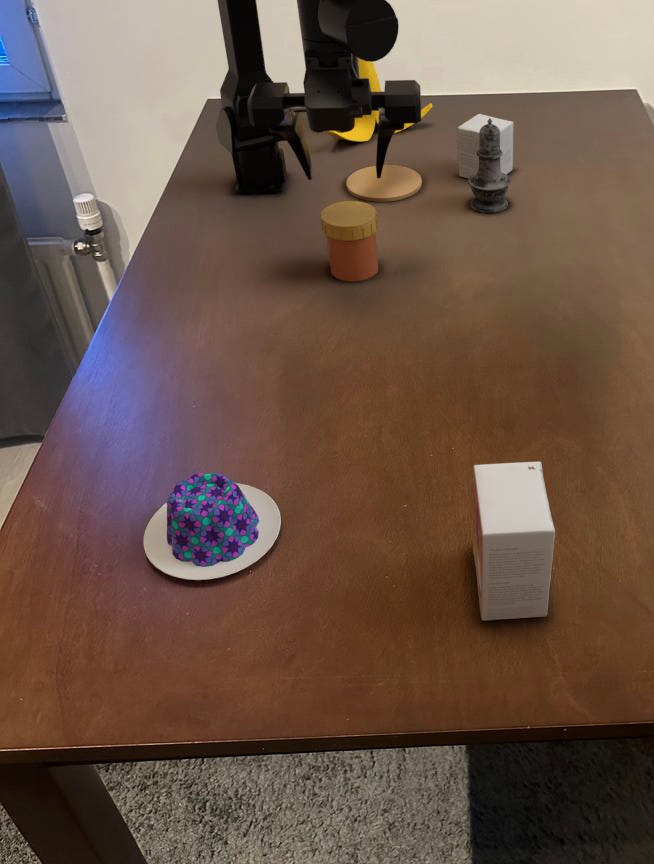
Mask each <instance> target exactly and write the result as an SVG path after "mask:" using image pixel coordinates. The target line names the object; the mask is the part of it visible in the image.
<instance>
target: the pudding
mask: <svg viewBox="0 0 654 864" xmlns="http://www.w3.org/2000/svg"><path fill="white" fill-rule="evenodd" d="M281 523H282V518H281V511H280V509H279V507H278V504H277V503H276V502H275V501H274V500H273V498H272V497H271V496H270V495H268V494H267V493H266V492H265V491H263V490H261V489H258V488H257V487H254V486H252V485H248V484H243V483H238V482H235V481H234V480H232V479H229V478H228V476H227V475H225V474H223V473H221V472H211V473H206V472H198V473H194V474H193V475H191V476H190V477H189V478H185V479H181V480H180V481H179V482H177V483H176V484H175V486H174V487H173V491H172V492H171V493H169V496H168V499H167V501H166V503H164V504H163V505H161V507H160V508H159V509H157V511H155V512H154V514H153V515H152V516H151V518H150V519H149V521H148V523H147V525H146V528H145V530H144V534H143V549H144V553H145V555H146V557H147V559H148V560H149V562H150V563H151V564H152V565H153V566H154V567H155V568H156V569H158V570H159V571H161V572H163V573H164V574H166V575H169V576H171V577H174V578H178V579H182V580H190V581H191V580H194V581H202V580H212V579H219V578H224V577H226V576H230V575H232V574H235V573H238V572H239V571H242V570H244V569H246V568H248V567H250V566H251V565H253V564H254V563H256V562H257V561H259V560H260V559H261V558H262V557H264V555H266V553H267V552H268V551H269V550H270V549H271V548H272V546H273V545H274V543H275V542H276V540H277V538H278V536H279V533H280V530H281Z"/></svg>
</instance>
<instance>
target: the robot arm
mask: <svg viewBox="0 0 654 864" xmlns="http://www.w3.org/2000/svg"><path fill="white" fill-rule="evenodd" d="M257 3H258V2H257V0H217V7H218V11H219V17H220V24H221V30H222V31H221V32H222V36H223V43H224V48H225V55H226V60H227V72H226V74H225V76H224V79H223V82H222V83H221V86H220V89H219V94H220V103H221V108H220V109H219V113H218V116H217V121H216V123H215V131H216V135H217V138H218V141H219V144H220V145H221V146H223V147H224V148H225V149H226V150H227V151H228V152H229V153H230V154H231V158H232V163H233V168H234V169H233V170H234V174H235V177H236V186H235V193H236V194H279V193H281V192H282V190H283V186H284V184H285V183H286V181H287V177H288V171H287V165H286V158H285V153H284V149H283V148H282V147H279V143H280V142H287V144H288V145H289V146H290V148H291V149H292V151H293V153H294V155H295V157H296V159H297V160H298V163H299V164H300V167H301V168H302V170H303V172H304V175H305V176H306V178H307V180H308V181H312V179H313V168H312V160H311V155H310V150H309V145H308V141H307V137H306V131H305V126H304V120H303V117H302V113H306V117H307V123H308V127H309V130H310V131H311V132H314V133H324V132H329V131H336V132H340V133H344V132H348V131H351V130H352V129H353V128H354V127H355V118H359V117H360V118H363V115H371V114H372V111H379V120H378V123H377V136H376V137H377V139H376V156H375V157H376V159H375V166H376V173H377V178H381V174H382V169H383V165H385V161H386V157H387V152H388V148H389V145H390V143H391V141H392V138H393V136H394V134H395V133H394V132H395V131H396V130H401V131H403V130H402V129H404V127H405V124H406V123H414V124H419V123H420V122H422V118H421V109H422V92H421V84H420V83H418V81H417V80H416V79H396V80H395V79H394V80H392V79H390V80H384V89H383V91H381V92H371V87H370V82H369V79H368V78H360V72H359V61H358V58H360V59H362V60H364V61H370V62H373V63H374V62H377V61H380V60H382V59H384V58H385V57H386V56H387V55H389V54H390V53H391V51H392V49H393V48H394V47H395V44H396V42H397V39H398V35H399V18H398V17H397V14H396V11H395V9H394V8H393V6H392V5H391V4H390V2H388V0H296V5H297V13H298V20H299V28H300V35H301V43H302V51H303V58H304V66H305V72H304V76H303V85H302V86H303V90H304V91H303V92H290V87H289V84H288V82H285V81H284V82H283V81H282V82H281V81H280V82H278V81H277V82H274V81H273V80H272V78H271V77H270V76H269V74H268V73H267V70H266V63H265V55H264V48H263V40H262V34H261V26H260V19H259V10H258V4H257ZM404 130H405V129H404Z"/></svg>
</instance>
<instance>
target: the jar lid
mask: <svg viewBox="0 0 654 864" xmlns="http://www.w3.org/2000/svg"><path fill="white" fill-rule="evenodd" d="M320 213H321V214H320V225H321V230H322V232H323V233H324V235H325V236H326V235H327V236H328V237H330V238H333V239H336V240H342V241H353V240H359V239H363V238H366V237H368V236H370V235H372V234H373V233H374V232H375V233H376V231H377V229H378V225H379V222H378V214H377V210H376V209H375V207H374V206H373V205H371V204H369V203H367V202H363V201H357V200H345V201H339V202H338V201H337V202H335V203H332V204H330V205H328V206H326V207H325V208H324V209H322V211H321V212H320Z"/></svg>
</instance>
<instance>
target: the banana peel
mask: <svg viewBox="0 0 654 864" xmlns="http://www.w3.org/2000/svg"><path fill="white" fill-rule="evenodd" d="M358 61H359V72H360V78H368V79H369V82H370V87H371V92H382V87H381V83H380V80H379V77H378V72H377V70H376V67H375V65H374V61H373V62H370V61H364V60H362V59H360V58H358ZM432 108H433V103H429V104H427V105H425V107H423V108H421V119H422V118H423V117H424V116H426V115H427V114H428V113H429V112H430V111H431V110H432ZM378 120H379V111H372V114H371V115H363V118H360V117H359V118H355V127H354V128H353V129H352V130H351V131H348V132H340V131H328V134H329V135H330V136H331V137H333V138H335V139H339V140H346V141H350V142H357V143H358V142H360V143H361V142H368V141H370V139H371V138H372V136H373V134H374V131H375V127H376V123H377V124H378ZM414 124H415V123H406V124H405V127H404V129H402V130H396V131H395V132H394V134H396V133H398V132H401V131H404V130H405V129H407V128H409V127H411V126H413V125H414Z"/></svg>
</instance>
